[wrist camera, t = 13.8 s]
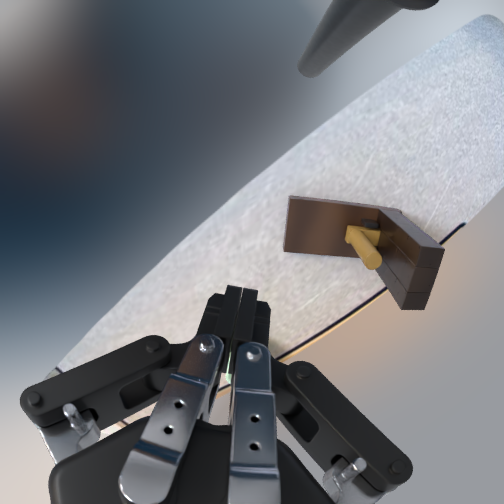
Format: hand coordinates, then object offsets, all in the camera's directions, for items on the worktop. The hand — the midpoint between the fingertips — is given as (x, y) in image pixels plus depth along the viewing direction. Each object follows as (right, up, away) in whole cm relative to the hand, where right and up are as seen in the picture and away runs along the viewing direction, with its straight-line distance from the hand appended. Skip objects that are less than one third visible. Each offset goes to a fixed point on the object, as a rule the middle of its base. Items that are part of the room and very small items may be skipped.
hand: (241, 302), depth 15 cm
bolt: (+15, +5, +22) cm, 27 cm away
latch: (+12, +6, +23) cm, 27 cm away
